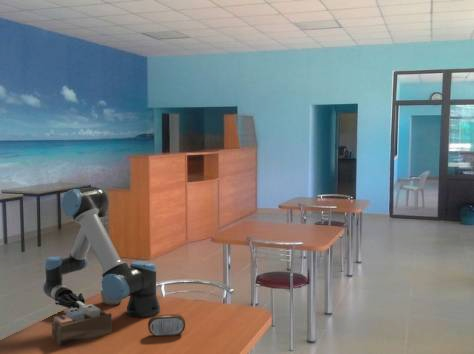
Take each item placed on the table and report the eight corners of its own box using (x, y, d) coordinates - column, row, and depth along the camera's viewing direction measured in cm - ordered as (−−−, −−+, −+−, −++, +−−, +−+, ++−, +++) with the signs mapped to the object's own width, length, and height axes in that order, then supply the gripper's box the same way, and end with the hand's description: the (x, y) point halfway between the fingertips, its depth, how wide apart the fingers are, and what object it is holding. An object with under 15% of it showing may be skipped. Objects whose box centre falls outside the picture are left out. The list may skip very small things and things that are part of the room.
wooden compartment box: (52, 338, 205) (51, 319, 205) (101, 326, 219) (100, 307, 218) (61, 346, 198) (61, 326, 198) (111, 332, 212) (111, 313, 211)
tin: (185, 332, 213) (185, 312, 212) (185, 335, 210) (185, 315, 209) (148, 334, 211) (147, 314, 210) (148, 337, 207) (147, 317, 207)
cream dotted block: (82, 320, 220) (81, 305, 219) (91, 317, 223) (91, 303, 222) (90, 325, 214) (90, 310, 213) (100, 322, 217) (100, 308, 216)
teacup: (118, 307, 242) (117, 291, 241) (96, 306, 244) (96, 289, 244) (130, 298, 256) (129, 282, 255) (109, 296, 258) (109, 281, 257)
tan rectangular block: (54, 331, 207) (53, 316, 206) (64, 328, 210) (64, 313, 209) (62, 337, 201) (61, 321, 200) (72, 334, 204) (72, 319, 203)
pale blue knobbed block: (66, 323, 215) (65, 309, 215) (76, 321, 218) (76, 306, 217) (74, 329, 209) (73, 314, 209) (84, 327, 212) (84, 312, 211)
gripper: (75, 299, 245) (98, 313, 227) (48, 305, 236) (69, 320, 219) (75, 284, 244) (98, 296, 226) (48, 289, 236) (69, 302, 218)
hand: (84, 308), depth 222 cm, fingers closed
